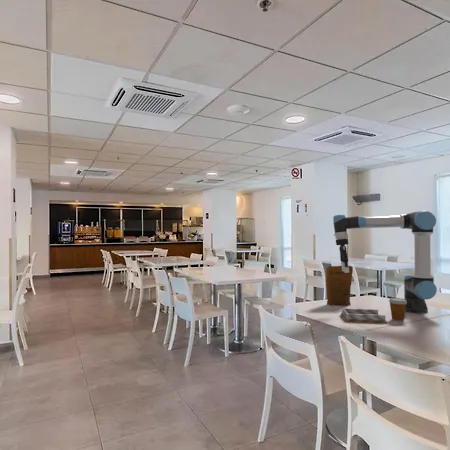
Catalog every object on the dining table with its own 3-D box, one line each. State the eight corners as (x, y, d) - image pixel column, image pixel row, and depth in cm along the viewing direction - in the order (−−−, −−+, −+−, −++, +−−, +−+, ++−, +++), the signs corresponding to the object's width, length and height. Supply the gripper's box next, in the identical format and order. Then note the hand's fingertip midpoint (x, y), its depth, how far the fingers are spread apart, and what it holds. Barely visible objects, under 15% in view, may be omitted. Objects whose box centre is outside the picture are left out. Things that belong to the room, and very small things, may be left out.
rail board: (378, 316, 210) (378, 309, 210) (386, 323, 193) (386, 315, 193) (340, 314, 213) (340, 307, 214) (346, 321, 197) (346, 314, 197)
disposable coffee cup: (409, 322, 196) (409, 301, 196) (391, 321, 198) (391, 300, 198) (404, 318, 205) (404, 298, 205) (387, 317, 207) (386, 297, 207)
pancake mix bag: (354, 306, 237) (354, 266, 238) (325, 305, 240) (325, 265, 241) (351, 304, 244) (351, 265, 245) (324, 303, 247) (324, 264, 247)
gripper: (333, 239, 233) (337, 271, 231) (337, 238, 209) (341, 273, 207) (345, 238, 232) (349, 270, 230) (350, 237, 208) (354, 272, 206)
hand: (345, 272), depth 219 cm, fingers open, 13 cm apart
